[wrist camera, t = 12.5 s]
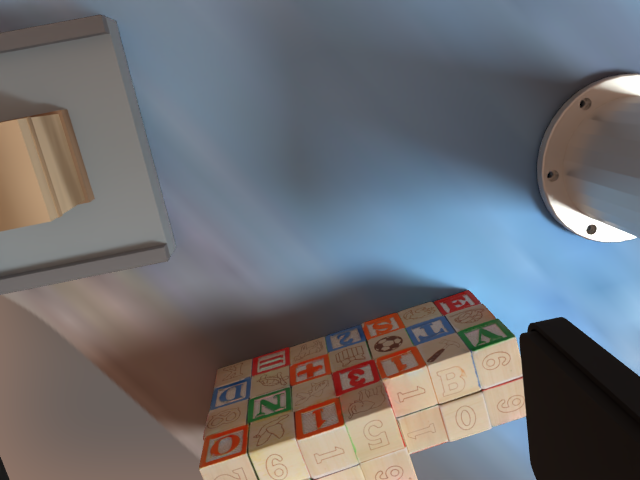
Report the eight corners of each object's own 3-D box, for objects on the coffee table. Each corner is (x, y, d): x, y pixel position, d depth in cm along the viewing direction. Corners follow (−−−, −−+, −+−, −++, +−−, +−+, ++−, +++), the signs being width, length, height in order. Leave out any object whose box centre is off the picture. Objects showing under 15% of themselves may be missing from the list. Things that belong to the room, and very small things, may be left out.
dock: (115, 21, 37) (90, 10, 32) (176, 246, 42) (162, 270, 36) (-96, 59, 37) (-157, 55, 31) (-12, 284, 41) (-54, 313, 36)
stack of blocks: (468, 286, 45) (540, 357, 33) (485, 353, 47) (559, 444, 35) (215, 369, 45) (195, 471, 33) (241, 433, 47) (232, 551, 35)
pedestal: (67, 109, 36) (19, 114, 29) (94, 198, 38) (55, 224, 31) (-26, 127, 36) (-97, 137, 29) (6, 216, 38) (-54, 246, 31)
